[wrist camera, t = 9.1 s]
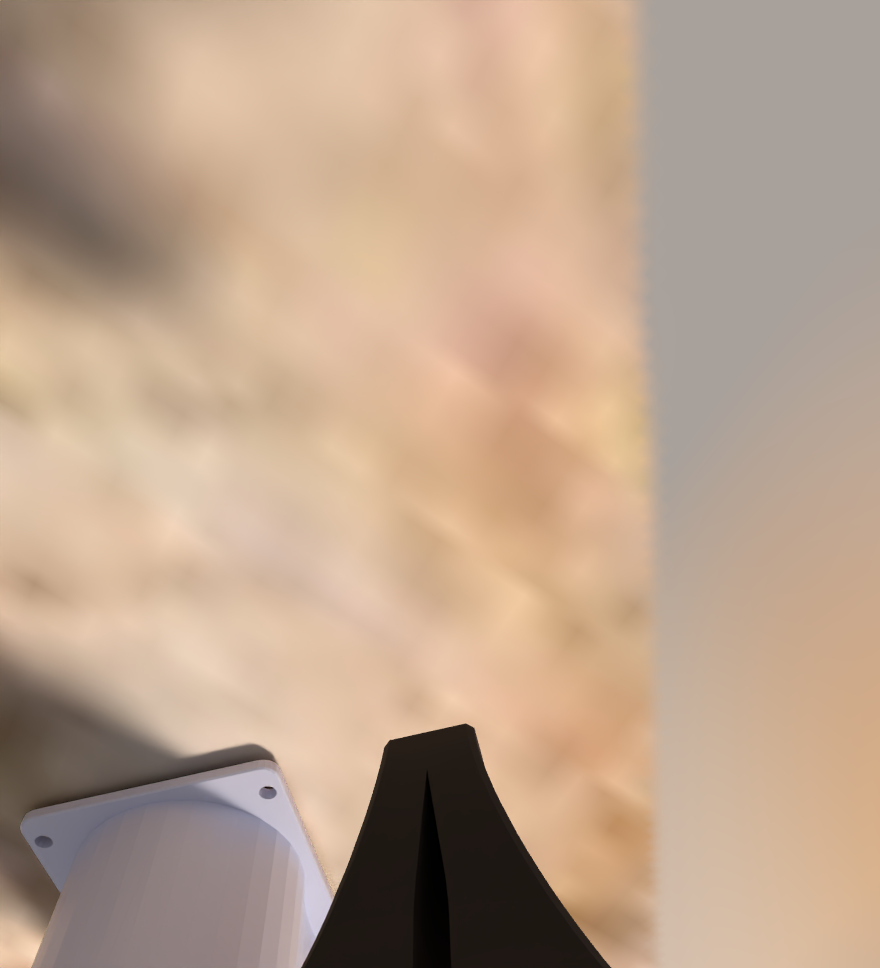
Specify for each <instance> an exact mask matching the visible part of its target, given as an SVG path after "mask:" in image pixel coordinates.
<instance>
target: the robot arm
mask: <svg viewBox="0 0 880 968" xmlns="http://www.w3.org/2000/svg"><path fill="white" fill-rule="evenodd" d="M265 786H270V787H273V789H266V788H264V787H265ZM20 831H21V833H22V835H23V836H24V838H25V839H26V841H27V842H28V844H29V846H30V847H31V849H32V850H33V852H34V853H35V855H36V856H37V858H38V859H39V861H40V863H41V864H42V866H43V867H44V869H45V870H46V872H47V873H48V875H49V877H50V878H51V880H52V881H53V883H54V884H55V886H56V887H57V889H58V890H59V892H60V896H59V899H58V901H57V904H56V906H55V909H54V911H53V914H52V916H51V919H50V922H49V924H48V927H47V929H46V932H45V934H44V937H43V939H42V942H41V944H40V947H39V950H38V952H37V955H36V957H35V960H34V962H33V965H32V967H31V968H611V967H610V966H609V965H608V963H607V962H606V961H605V960H604V959H603V958H602V956H601V955H600V954H599V952H598V951H597V950H596V949H595V947H594V946H593V945H592V943H591V942H590V941H589V940H588V938H587V937H586V936H585V934H584V933H583V932H582V930H581V929H580V928H579V927H578V925H577V924H576V922H575V921H574V920H573V918H572V917H571V916H570V914H569V913H568V911H567V910H566V909H565V907H564V906H563V904H562V903H561V902H560V900H559V899H558V897H557V896H556V894H555V893H554V891H553V890H552V889H551V887H550V886H549V884H548V883H547V881H546V880H545V878H544V876H543V875H542V873H541V872H540V870H539V869H538V867H537V865H536V864H535V862H534V861H533V859H532V857H531V856H530V854H529V853H528V851H527V849H526V848H525V846H524V844H523V843H522V841H521V839H520V837H519V836H518V834H517V832H516V830H515V828H514V827H513V825H512V823H511V821H510V819H509V817H508V815H507V814H506V812H505V810H504V808H503V806H502V804H501V802H500V800H499V798H498V796H497V794H496V792H495V790H494V788H493V785H492V783H491V781H490V778H489V776H488V774H487V771H486V769H485V766H484V762H483V759H482V755H481V751H480V747H479V744H478V740H477V736H476V733H475V729H474V728H473V727H471V726H470V725H468V724H462V725H457V726H453V727H448V728H444V729H439V730H435V731H430V732H425V733H421V734H416V735H412V736H407V737H403V738H398V739H394V740H390V741H389V742H388V743H387V745H386V746H385V747H384V752H383V756H382V761H381V765H380V769H379V773H378V776H377V780H376V784H375V787H374V790H373V794H372V797H371V800H370V803H369V806H368V810H367V813H366V816H365V819H364V822H363V824H362V827H361V830H360V833H359V836H358V838H357V841H356V844H355V847H354V850H353V852H352V855H351V858H350V861H349V863H348V866H347V868H346V871H345V873H344V875H343V878H342V880H341V883H340V885H339V887H338V890H337V892H336V894H335V897H334V895H333V892H332V890H331V888H330V885H329V883H328V881H327V878H326V876H325V873H324V871H323V869H322V866H321V864H320V862H319V859H318V857H317V855H316V852H315V850H314V847H313V845H312V843H311V840H310V838H309V836H308V833H307V831H306V828H305V826H304V824H303V821H302V819H301V817H300V814H299V812H298V810H297V807H296V805H295V802H294V800H293V798H292V795H291V793H290V791H289V788H288V786H287V783H286V781H285V779H284V776H283V774H282V772H281V769H280V768H279V766H278V765H277V764H276V763H274V762H273V761H270V760H256V761H252V762H247V763H243V764H238V765H234V766H229V767H225V768H220V769H216V770H211V771H207V772H202V773H198V774H193V775H189V776H184V777H180V778H175V779H170V780H166V781H161V782H157V783H152V784H148V785H143V786H139V787H134V788H130V789H125V790H121V791H116V792H112V793H107V794H103V795H98V796H94V797H89V798H84V799H80V800H75V801H71V802H66V803H62V804H57V805H53V806H48V807H44V808H39V809H35V810H32V811H29V812H28V813H27V814H26V815H25V816H24V818H23V820H22V822H21V825H20ZM45 836H47V837H45Z"/></svg>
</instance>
